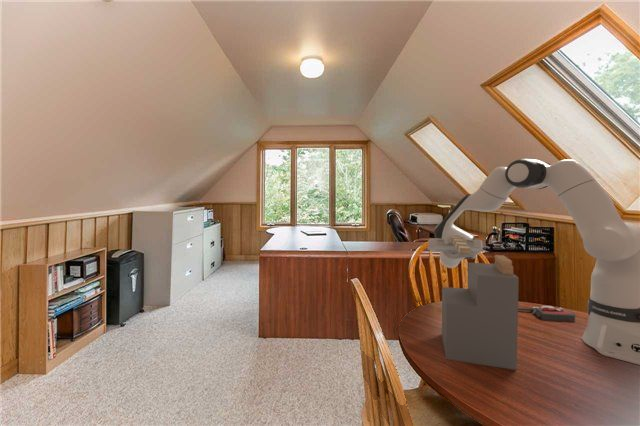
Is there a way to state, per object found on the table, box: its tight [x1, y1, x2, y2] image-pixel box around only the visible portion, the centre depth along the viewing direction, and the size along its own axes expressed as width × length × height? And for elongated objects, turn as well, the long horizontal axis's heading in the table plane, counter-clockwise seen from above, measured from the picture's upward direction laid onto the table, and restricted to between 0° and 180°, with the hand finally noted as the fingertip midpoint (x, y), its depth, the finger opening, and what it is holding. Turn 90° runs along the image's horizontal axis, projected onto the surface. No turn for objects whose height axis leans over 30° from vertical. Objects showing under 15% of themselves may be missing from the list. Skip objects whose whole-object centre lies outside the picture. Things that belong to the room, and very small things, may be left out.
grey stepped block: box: [441, 254, 520, 371], centre depth 89 cm, size 16×18×30 cm
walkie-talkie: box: [518, 305, 576, 323], centre depth 115 cm, size 9×4×20 cm
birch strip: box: [451, 236, 471, 255], centre depth 104 cm, size 26×3×2 cm, turn 161°
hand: (456, 238), depth 112 cm, fingers closed on birch strip, 3 cm apart
